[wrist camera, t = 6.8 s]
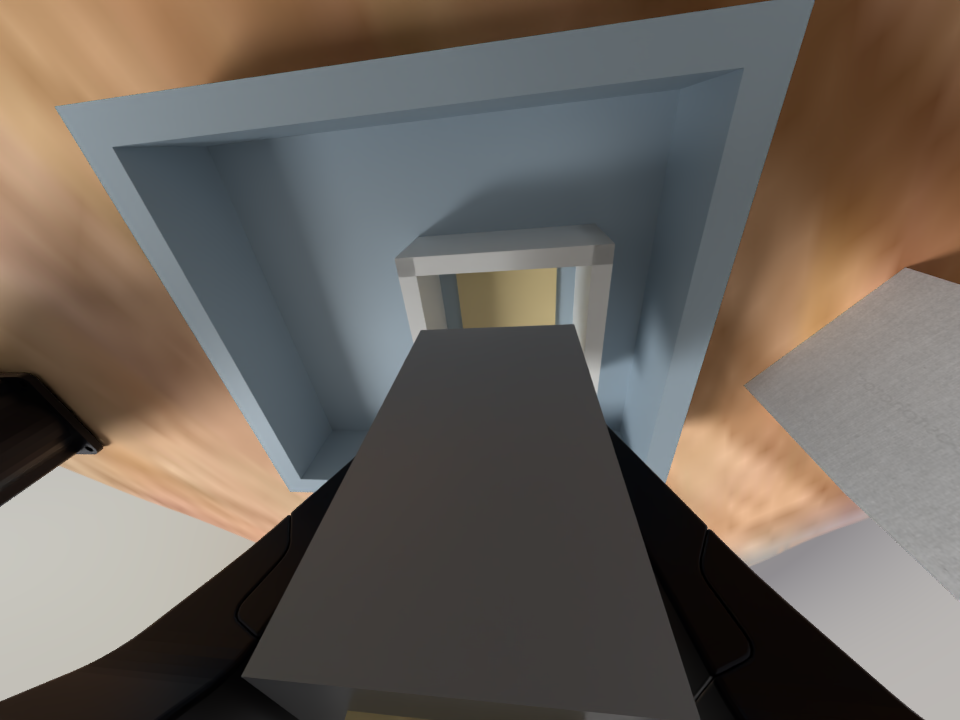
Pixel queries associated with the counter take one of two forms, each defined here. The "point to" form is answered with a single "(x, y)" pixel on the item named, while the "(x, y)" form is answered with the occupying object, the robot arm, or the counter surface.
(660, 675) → the connector
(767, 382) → the milk carton
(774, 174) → the counter surface
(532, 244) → the frame
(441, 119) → the walled box
